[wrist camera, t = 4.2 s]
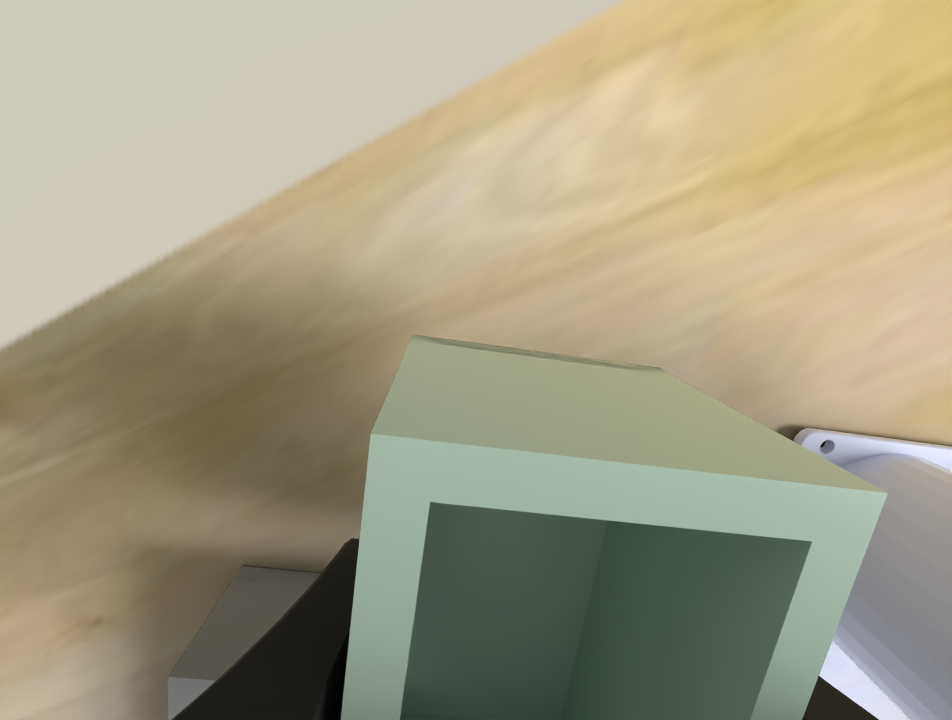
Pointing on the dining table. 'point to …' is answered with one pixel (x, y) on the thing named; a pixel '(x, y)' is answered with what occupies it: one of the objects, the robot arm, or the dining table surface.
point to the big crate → (234, 629)
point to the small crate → (590, 547)
